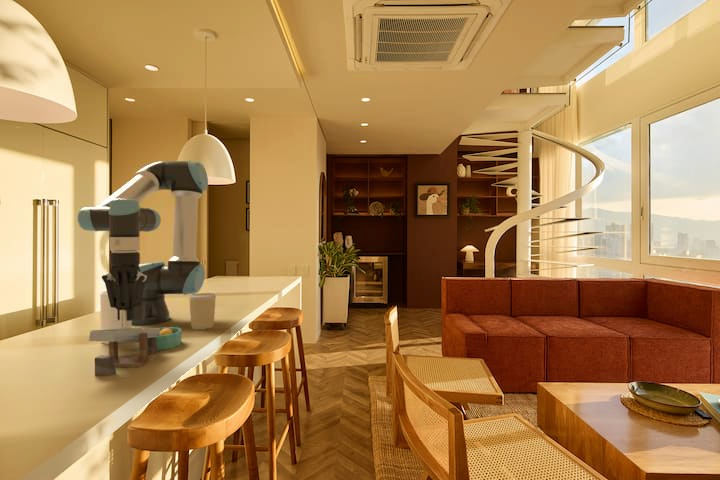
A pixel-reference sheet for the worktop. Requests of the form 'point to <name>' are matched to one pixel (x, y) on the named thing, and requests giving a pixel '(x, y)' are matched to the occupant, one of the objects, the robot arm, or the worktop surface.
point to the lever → (122, 334)
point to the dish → (168, 339)
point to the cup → (108, 314)
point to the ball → (165, 332)
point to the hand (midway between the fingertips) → (125, 331)
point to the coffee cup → (202, 310)
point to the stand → (125, 356)
